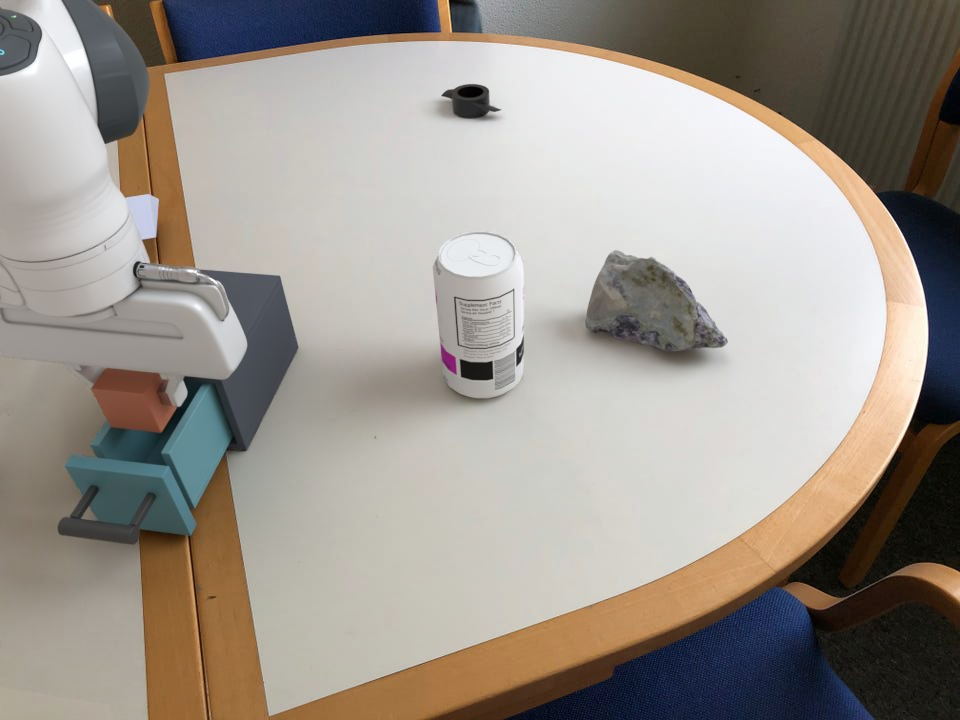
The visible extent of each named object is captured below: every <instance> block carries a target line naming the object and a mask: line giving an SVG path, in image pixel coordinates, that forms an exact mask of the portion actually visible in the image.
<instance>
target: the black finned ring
mask: <svg viewBox="0 0 960 720" xmlns="http://www.w3.org/2000/svg"><path fill="white" fill-rule="evenodd" d="M440 96H441V97H444V98H447V99H450V100H451V103H452V104H451V105H452V112H453V114H454V115H455V116H457V117H459V118H463V119H476V118H477V119H478V118H481V117H484V116H486V115H487V114H489V112H493V113H496V112H499V111H502V109H501V108H498V107H495V106H493V105H491V104H490V103H491V101H490V89H489V88H488V87H487V86H485V85H482V84H478V83H468V84H467V83H465V84H462V85H458V86H457V87H455V88H451V89H447V90H445V91H444V92H442V94H441V95H440Z"/></svg>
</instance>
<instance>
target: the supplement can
mask: <svg viewBox="0 0 960 720" xmlns="http://www.w3.org/2000/svg"><path fill="white" fill-rule="evenodd" d="M437 254H438V255H437V257H436V259H435V261H434V263H433V265H432V273H433V275H432V276H433V281H434V282H433V283H434V284H433V285H434V296H435V305H436V315H437V323H438V324H437V325H438V326H437V327H438V335H439V336H438V337H439V347H440V357H441V367H442V375H443V377H442V378H443V379H444V381H445V382H446V384H447V385H448V387H449V388H451V389H452V390H453V391H455V392H456V393H457V394H459V395H462V396H466V397H469V398H473V399H486V400H487V399H491V398H495V397H500V396H501V395H503V394H505V393H507V392H509V391H511V390H513V389H514V388H515V387H516V386H517V385H518V384H519V382H520V381H521V380H522V377H523V373H524V371H525V328H524V327H525V291H524V290H525V265H524V262H523V259H522V257H521V255H520V254H519V252H518V251H517V248H516V245H515V244H514V243H513V242H512V241H511V240H510V239H509V238H508V237H505V236H504V235H501V234H499V233H497V232H491V231H487V230H483V231H482V230H480V231H479V230H478V231H477V230H473V231H467V232H463V233H459V234H456V235H454V236H452V237H450V238H448V239H447V240H446V241H445V242H444V243H443V244H442V245H441V246H440V248H439V251H438V253H437Z"/></svg>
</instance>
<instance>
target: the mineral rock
mask: <svg viewBox="0 0 960 720" xmlns="http://www.w3.org/2000/svg"><path fill="white" fill-rule="evenodd" d="M597 274H598V275H597V276H596V279H595V281H594V284H593V287H592V290H591V293H590V294H591V295H590V299H589V302H588V304H587V309H586V318H585V328H586V330H587V331H588V332H590V333H592V334H600V333H604V334H607V335H608V336H611V337H615V338H616V340H622V341H630V342H631V341H635V342H636V343H639V344H641V345H644V346H653V347H655V348H658V349H660V350H662V351H665V352H680V351H685V350H695V349H705V348H707V349H708V348H709V349H719V348H724V347H726V346H727V344H729V342H728V341H729V340H728V338H727V337H726V336H725V334H724V333H723V332H722V331H721V330H720V329H719V328H718V327H717V325H716V322H715V321H714V320H713V319H712V318H711V317H710V315H709V312H708V310H707V309H705V307H704V306H703V305H702V304H701V302H699V301H697V299H696V297H695V295H694V294H693V291H692V289H691V287H690V285H688V283H687V281H685V280H684V279H683V278H682V277H680V276H678V275H677V274H676V272H674V271H673V270H671V268H670V267H668V266H666V265H665V264H664V263H661V262H660V261H658V260H657V259H656V258H655V257H653V256H650V257H648V258H645V257H637V256H635V255H632V254H628V255H627V254H625V253H624V252H623V251H620V250H618V249H617V250H616V249H615V250H613V251H611V252H610V253H608V255H607V257H606V258H605V260H604V264H603V265H602V267H601V268H600V271H599V273H597Z"/></svg>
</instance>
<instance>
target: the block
mask: <svg viewBox="0 0 960 720" xmlns="http://www.w3.org/2000/svg"><path fill="white" fill-rule="evenodd" d="M163 381H164V379H162V378H161V376H160V374H159V373H152V372H142V371H132V370H123V369H113V368H105V370H104V372H103V373H102V374H101V376H100V377H99V378H98V380H97V381H96V382H95V384H94V385H93V386H92V388H91V389H90V391H91V390H92V391H91V393H92V392H93V393H92V395H93V394H94V395H93V397H94V398H95V400H96V402H97V403H98V405H99V407H100V409H101V412H102V413H103V415H104V417H105V419H106V420H107V421H108V422H109V424H110V426H111V427H114V428H123V429H131V430H140V431H149V432H158V433H162V431H163V429H164V428H165V426H166V425H167V423H168V421H169V420H170V418H171V417H172V415H173V413H174V412H175V410H176V408H177V407H176V406H168V405H162V404H161V402H160V401H161V399H159V397H158V395H157V393H156V392H157V390H158V388H159V387H160V386H161V385H163V383H162V382H163Z"/></svg>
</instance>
